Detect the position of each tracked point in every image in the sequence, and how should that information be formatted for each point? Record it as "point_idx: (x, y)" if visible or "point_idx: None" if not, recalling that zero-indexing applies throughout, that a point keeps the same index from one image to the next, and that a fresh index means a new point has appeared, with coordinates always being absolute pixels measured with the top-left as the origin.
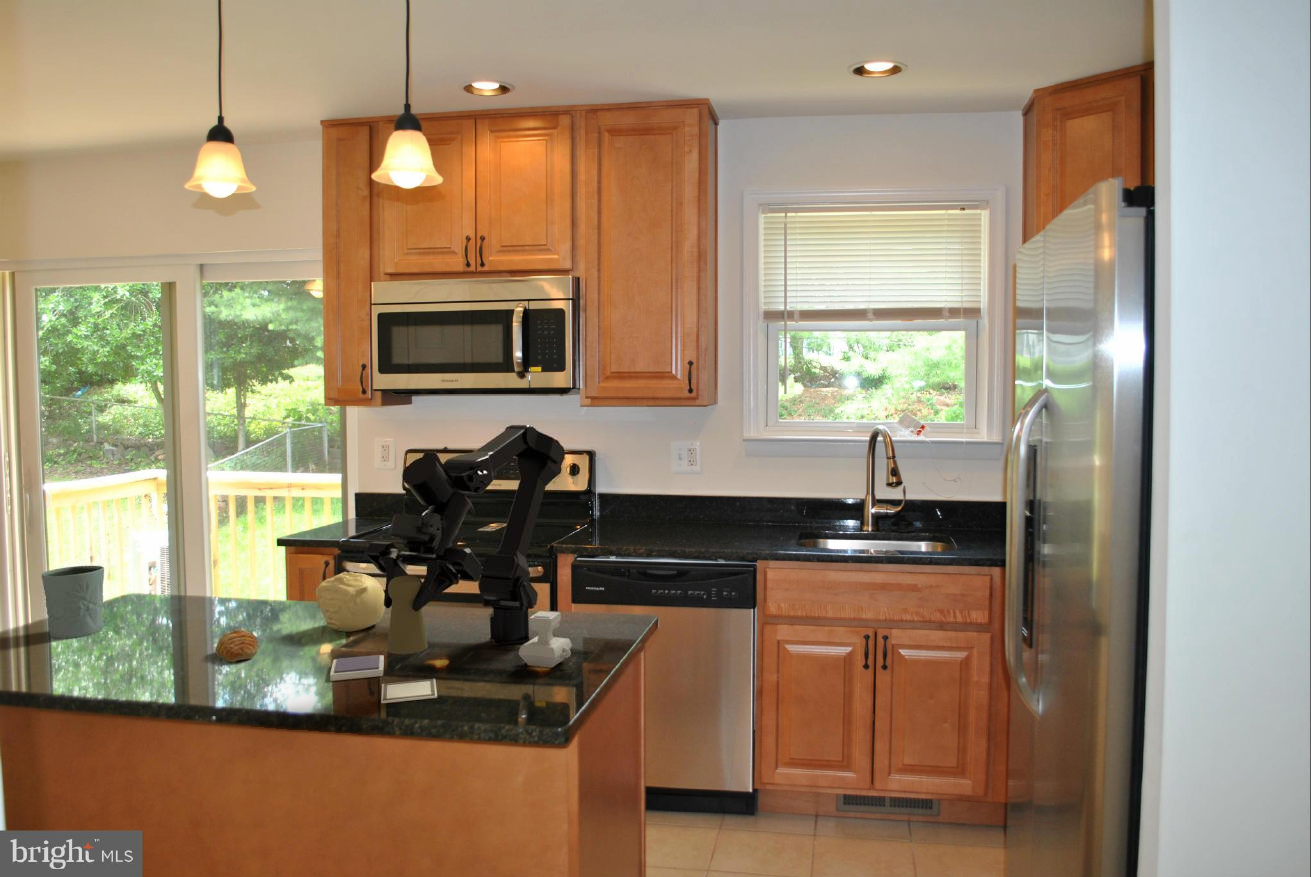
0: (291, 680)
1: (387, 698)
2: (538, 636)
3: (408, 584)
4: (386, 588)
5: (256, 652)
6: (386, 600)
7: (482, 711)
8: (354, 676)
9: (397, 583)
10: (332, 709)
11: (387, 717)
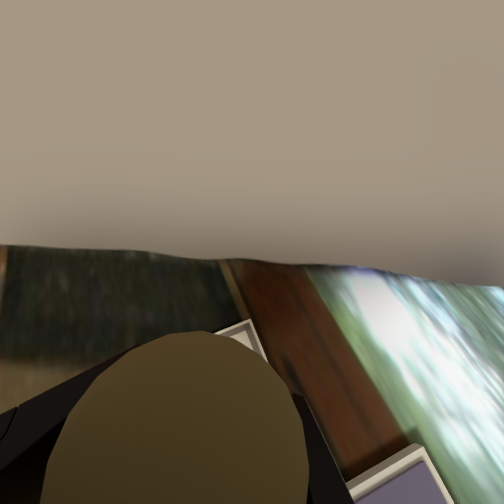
0: (494, 437)
1: (243, 330)
2: None
3: (127, 359)
4: (336, 480)
5: None
6: (297, 409)
7: (66, 296)
8: (376, 468)
9: (206, 349)
10: (316, 287)
11: (216, 262)
